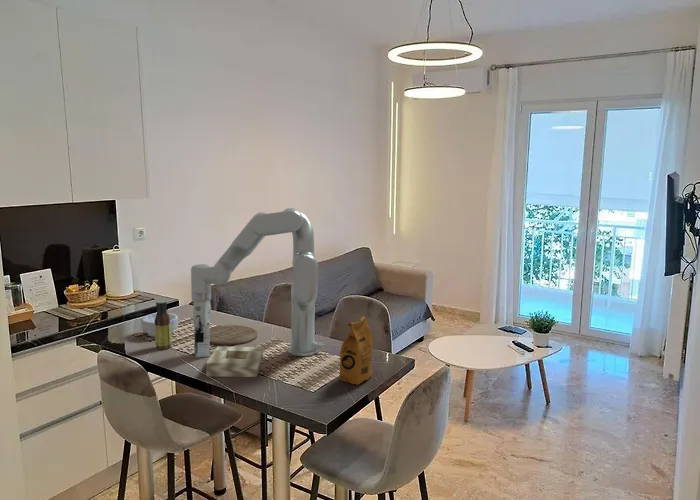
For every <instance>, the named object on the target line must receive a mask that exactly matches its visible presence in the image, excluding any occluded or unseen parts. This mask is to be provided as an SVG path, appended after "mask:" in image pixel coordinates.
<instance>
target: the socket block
mask: <svg viewBox="0 0 700 500" xmlns="http://www.w3.org/2000/svg"><path fill="white" fill-rule="evenodd" d="M263 360H264V347H262V346H261V347H259V346H258V347H257V346H217V347H216V348H215V349H214V351H213V352H212V354H210V356H209V358H208V359H207V361H206V365H205V366H206V367H205V370H206V371H205V373H206V374H205V375H206V377H225V378H226V377H235V378H237V377H240V378H241V377H242V378H244V377H245V378H257V377H258V374H259V372H260V369H261V367H262V363H263Z"/></svg>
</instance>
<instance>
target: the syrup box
mask: <svg viewBox="0 0 700 500" xmlns="http://www.w3.org/2000/svg"><path fill="white" fill-rule="evenodd" d="M210 322H211V321H210ZM210 322H209V321H208V324H207V325H206V326H204V325H203V332H204V342H195V325H194V324H193V325H194V329H193V332H194V334H193V335H194V336H193V337H194V338H193V339H194V341H193V342H194V345H193V347H194V348H193V352H194V357H195V359H196V358H207V357H211V353H210V351H211V349H210V347H211V345H210V328H211V326H210V325H211V324H210ZM195 323H196V322H195ZM199 325H202V324H201V323H199ZM200 328H201V327H200Z"/></svg>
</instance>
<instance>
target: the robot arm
mask: <svg viewBox="0 0 700 500" xmlns="http://www.w3.org/2000/svg"><path fill="white" fill-rule="evenodd" d="M289 233H292V234H291V235H292V247H293V249H292V253H293V254H292V261H291V262H292V268H293V282H292V284H291V287H290V290H291V292H290V295H291V296H290V297H291V315H290V316H291V317H290V318H291V323H290V328H291V329H290V334H291V335H290V339H291V341H290V345H289V346H288V347H287V353H288V354H289V355H291V356H296V357H310V356H313V355H315V354H317V353H318V352H319V351H318V349H326V347H325V346H326V344H325V343H323V342H317V341H316V339H315V314H316V313H315V310H316V307H315V305H316V300H317V297H318V291H319V265H318V261H317V259H316V257H315V236H314V228H313V226H312V223H311V221H310V220H309V218H308V217H307V216H306V215H305V214H304V213H303V212H301V211H300V210H298V209H296V208H294V207H288V208H285V209H284V210H282V211H277V212H271V213H269V212H268V213H266V212H257V213H255V215H253V216H252V217H251V219H250V220H249V221H248V222H247V223H246V224H245V226H244V227H243V228H242V230H241V231H240V233H238V235H237V236H236V237H235V238H234V239H233V241H232V242H231V244H230V245H229V247H228V248H227V249H226V251H224V253H223V254H222V255H221V256H220V258H219V259H218V260H217V261H216V262H215V264H214V265H213V266H210V265H208V264H204V263H199V264H194V265H192V266H191V268H190V285H191V288H190V290H191V291H190V292H191V293H190V294H191V301H192V302H193V306H192V307H193V311H192V313H193V325H195V342H204V332H203V325H204V326H206V325H207V324H208V321H209V322H211V320H212V309H211V300H212V285H217V286H218V285H219V286H221V285H224V284H227V283H228V282H229V280H230V279H231V275H232V273H233V272H234V271H235V270H236V268H237V267H238V266H239V265H240V264H241V263H242V261H244V259H245V258H247V257H249V256H250V255H251V254H252V253H253V252H254V251H255V249H256V248H257V247H258V245H259V244H260V243H261V242H262V241H263V240H264V238H265V237H267V236H275V235H281V234H283V235H284V234H289ZM195 322H196V323H195ZM199 323H201V324H202V325H199ZM200 327H201V328H200Z"/></svg>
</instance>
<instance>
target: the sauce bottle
mask: <svg viewBox="0 0 700 500" xmlns="http://www.w3.org/2000/svg"><path fill="white" fill-rule="evenodd" d="M155 305H156V313H155V314H156V318H155V321H154V323H155V337H154V338H155V347H156V348H157V349H158V350H167V349H170V348H171V347H172V334H171V324H170V317H169V314H168V312H167V305H168V303H167V301H166V300H158V301H156V302H155Z"/></svg>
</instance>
